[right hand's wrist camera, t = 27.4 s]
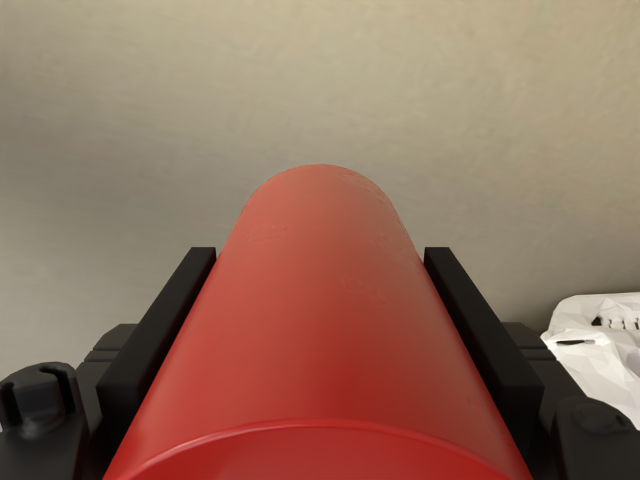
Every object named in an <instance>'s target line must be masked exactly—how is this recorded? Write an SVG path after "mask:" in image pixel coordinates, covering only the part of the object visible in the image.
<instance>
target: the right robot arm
mask: <svg viewBox="0 0 640 480" xmlns="http://www.w3.org/2000/svg"><path fill="white" fill-rule="evenodd" d="M216 260H217V259H216V249H215V247H191V249H190V250H189V252H188V253H187V255H186V256H185V257H184V259H183V260H182V262H181V263H180V265H179V266H178V268H177V269H176V270H175V272H174V273H173V275H172V276H171V278H170V279H169V281H168V282H167V283H166V285H165V286H164V288H163V289H162V291H161V292H160V294H159V295H158V296H157V298H156V299H155V301H154V302H153V304H152V305H151V306H150V308H149V309H148V311H147V312H146V314H145V315H144V317H143V318H142V319H141V321H140V322H139V324H119V325H118V326H116V327H115V328H113V329H112V330H110V331H109V332H107V333H106V334H104V335H103V336H102V337H101V339H100V340H99V341H98V342H97V344H96V345H95V346H94V347H93V351H90V353H89V354H88V355H87V356H86V358H85V359H84V362H82V363H81V364H80V365H79V366H78V368H77V369H76V370H75V369H74V368H73V367H71V366H70V365H69V364H67V363H61V362H46V363H39V364H36V365H32V366H29V367H25V368H23V369H21V370H19V371H17V372H15V373H13V374H11V375H9V376H8V377H6V378H5V379H4V380H2V381H1V382H0V423H1V426H2V429H3V431H2V432H0V480H102V479H103V477H104V475H105V473H106V471H107V469H108V467H109V465H110V464H111V462H112V460H113V458H114V456H115V454H116V452H117V450H118V448H119V446H120V444H121V442H122V441H123V439H124V437H125V435H126V433H127V431H128V429H129V427H130V425H131V423H132V421H133V419H134V418H135V416H136V414H137V412H138V410H139V408H140V406H141V404H142V402H143V400H144V398H145V396H146V395H147V393H148V391H149V389H150V387H151V385H152V383H153V381H154V379H155V377H156V375H157V373H158V371H159V370H160V368H161V366H162V364H163V362H164V360H165V358H166V356H167V354H168V352H169V350H170V348H171V347H172V345H173V343H174V341H175V339H176V337H177V335H178V333H179V331H180V329H181V327H182V325H183V324H184V322H185V320H186V318H187V316H188V314H189V312H190V310H191V308H192V306H193V304H194V302H195V301H196V299H197V297H198V295H199V293H200V291H201V289H202V287H203V285H204V283H205V281H206V279H207V278H208V276H209V274H210V272H211V270H212V268H213V266H214V264H215V262H216ZM423 264H424V266H425V268H426V270H427V272H428V274H429V276H430V278H431V280H432V282H433V284H434V286H435V288H436V290H437V292H438V294H439V296H440V298H441V299H442V301H443V303H444V305H445V307H446V309H447V311H448V313H449V315H450V317H451V319H452V321H453V323H454V325H455V327H456V329H457V331H458V333H459V335H460V337H461V339H462V341H463V342H464V344H465V346H466V348H467V350H468V352H469V354H470V356H471V358H472V360H473V362H474V364H475V366H476V368H477V370H478V372H479V374H480V376H481V378H482V380H483V382H484V383H485V385H486V387H487V389H488V391H489V393H490V395H491V397H492V399H493V401H494V403H495V405H496V407H497V409H498V411H499V413H500V415H501V417H502V419H503V421H504V423H505V424H506V426H507V428H508V430H509V432H510V434H511V436H512V438H513V440H514V442H515V444H516V446H517V448H518V450H519V452H520V454H521V456H522V458H523V460H524V462H525V464H526V465H527V467H528V469H529V471H530V473H531V475H532V477H533V479H534V480H640V430H637V429H636V427H635V426H634V424H633V423H632V421H631V420H630V419H629V418H628V417H627V416H626V415H624V414H623V413H622V412H621V411H620V410H618V409H617V408H615V407H613V406H611V405H609V404H607V403H605V402H603V401H600V400H597V399H593V398H590V397H587V395H586V394H585V393H584V392H583V390H582V389H581V388H580V387H579V385H578V384H577V383H576V382H575V380H574V379H573V378H572V377H571V375H570V374H569V373H568V372H567V370H566V369H565V368H564V367H563V365H562V364H561V363H560V361H557V359H556V356H555V355H554V354H553V353H552V351H551V350H550V349H548V346H547V345H546V344H545V343H544V341H543V340H542V339H541V338H540V336H539V335H538V334H537V333H535V332H534V331H532V330H531V329H529V328H528V327H526V326H525V325H523V324H522V323H520V322H500V320H499V319H498V318H497V316H496V315H495V313H494V312H493V310H492V309H491V307H490V306H489V305H488V303H487V302H486V300H485V299H484V297H483V296H482V295H481V293H480V292H479V290H478V289H477V287H476V286H475V284H474V283H473V282H472V280H471V279H470V277H469V276H468V274H467V273H466V271H465V270H464V269H463V267H462V266H461V264H460V263H459V261H458V260H457V258H456V257H455V256H454V254H453V253H452V251H451V250H450V248H449V247H425V252H424V262H423Z"/></svg>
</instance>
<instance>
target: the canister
mask: <svg viewBox="0 0 640 480" xmlns="http://www.w3.org/2000/svg"><path fill="white" fill-rule="evenodd" d="M102 480H534V479H533V477H532V475H531V473H530V471H529V469H528V467H527V465H526V464H525V462H524V460H523V458H522V456H521V454H520V452H519V450H518V448H517V446H516V444H515V442H514V440H513V438H512V436H511V434H510V432H509V430H508V428H507V426H506V424H505V423H504V421H503V419H502V417H501V415H500V413H499V411H498V409H497V407H496V405H495V403H494V401H493V399H492V397H491V395H490V393H489V391H488V389H487V387H486V385H485V383H484V382H483V380H482V378H481V376H480V374H479V372H478V370H477V368H476V366H475V364H474V362H473V360H472V358H471V356H470V354H469V352H468V350H467V348H466V346H465V344H464V342H463V341H462V339H461V337H460V335H459V333H458V331H457V329H456V327H455V325H454V323H453V321H452V319H451V317H450V315H449V313H448V311H447V309H446V307H445V305H444V303H443V301H442V299H441V298H440V296H439V294H438V292H437V290H436V288H435V286H434V284H433V282H432V280H431V278H430V276H429V274H428V272H427V270H426V268H425V266H424V264H423V262H422V260H421V258H420V257H419V255H418V253H417V251H416V249H415V247H414V245H413V243H412V241H411V239H410V237H409V235H408V233H407V231H406V229H405V227H404V225H403V223H402V221H401V219H400V217H399V216H398V214H397V212H396V210H395V208H394V206H393V204H392V203H391V201H390V200H389V198H388V197H387V196H386V195H385V193H384V192H383V191H382V190H381V189H380V188H379V187H378V186H377V185H376V184H374V183H373V182H371V181H370V180H369V179H367V178H366V177H364V176H362V175H360V174H359V173H357V172H354V171H351V170H349V169H346V168H342V167H338V166H333V165H324V164H319V165H306V166H299V167H296V168H293V169H289V170H287V171H284V172H282V173H280V174H278V175H276V176H274V177H273V178H271V179H269V180H268V181H267V182H265V183H264V184H263V185H262V186H260V187H259V188H258V189H257V191H256V192H255V193H254V194H253V195H252V196H251V197H250V199H249V200H248V202H247V203H246V205H245V207H244V209H243V210H242V212H241V214H240V216H239V218H238V220H237V222H236V224H235V226H234V228H233V230H232V232H231V233H230V235H229V237H228V239H227V241H226V243H225V245H224V247H223V249H222V251H221V253H220V255H219V256H218V258H217V260H216V262H215V264H214V266H213V268H212V270H211V272H210V274H209V276H208V278H207V279H206V281H205V283H204V285H203V287H202V289H201V291H200V293H199V295H198V297H197V299H196V301H195V302H194V304H193V306H192V308H191V310H190V312H189V314H188V316H187V318H186V320H185V322H184V324H183V325H182V327H181V329H180V331H179V333H178V335H177V337H176V339H175V341H174V343H173V345H172V347H171V348H170V350H169V352H168V354H167V356H166V358H165V360H164V362H163V364H162V366H161V368H160V370H159V371H158V373H157V375H156V377H155V379H154V381H153V383H152V385H151V387H150V389H149V391H148V393H147V395H146V396H145V398H144V400H143V402H142V404H141V406H140V408H139V410H138V412H137V414H136V416H135V418H134V419H133V421H132V423H131V425H130V427H129V429H128V431H127V433H126V435H125V437H124V439H123V441H122V442H121V444H120V446H119V448H118V450H117V452H116V454H115V456H114V458H113V460H112V462H111V464H110V465H109V467H108V469H107V471H106V473H105V475H104V477H103V479H102Z"/></svg>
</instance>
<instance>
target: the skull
mask: <svg viewBox="0 0 640 480" xmlns="http://www.w3.org/2000/svg"><path fill="white" fill-rule="evenodd" d="M597 316H598V317H599V318H600V319H601V320H600V321H601V324H602V326H592V325H591V323H592V321H593V320H594V319H595V318H596V317H597ZM609 320H612V324H610V323H611V322H610V321H609ZM637 320H638V327H639V330H637V329H636V326H635V324H636V323H637ZM622 321H624V324H622ZM624 325H625V328H626V329H623V327H624ZM609 326H611V328H609ZM540 338H541V339H542V340H543V341H544V343H545V344H546V345H547V346H548V349H550V350H551V351H552V353H553V354H554V355H555V356H556V359H557V361H560V363H561V364H562V365H563V367H564V368H565V369H566V370H567V372H568V373H569V374H570V375H571V377H572V378H573V379H574V380H575V382H576V383H577V384H578V385H579V387H580V388H581V389H582V390H583V392H584V393H585V394H586V395H587V397H590V398H593V399H597V400H600V401H603V402H605V403H607V404H609V405H611V406H613V407H615V408H617V409H618V410H620V411H621V412H622V413H623V414H624V415H626V416H627V417H628V418H629V419H630V420H631V421H632V423H633V424H634V426H635V427H636V429H637V430H640V292H633V293H616V294H594V295H575V296H572V297H569V298H566V299H563V300H562V301H561V302H560V303H559V304H558V305H557V307H556V308H555V310H554V312H553V315H552V318H551V322H550V325H549V329H548V331H546V332H544V333H543V334H542V335H541V336H540ZM566 340H583V341H585V342H584V343H579V344H575V345H564V344H558V343H556V342H557V341H566Z"/></svg>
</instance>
